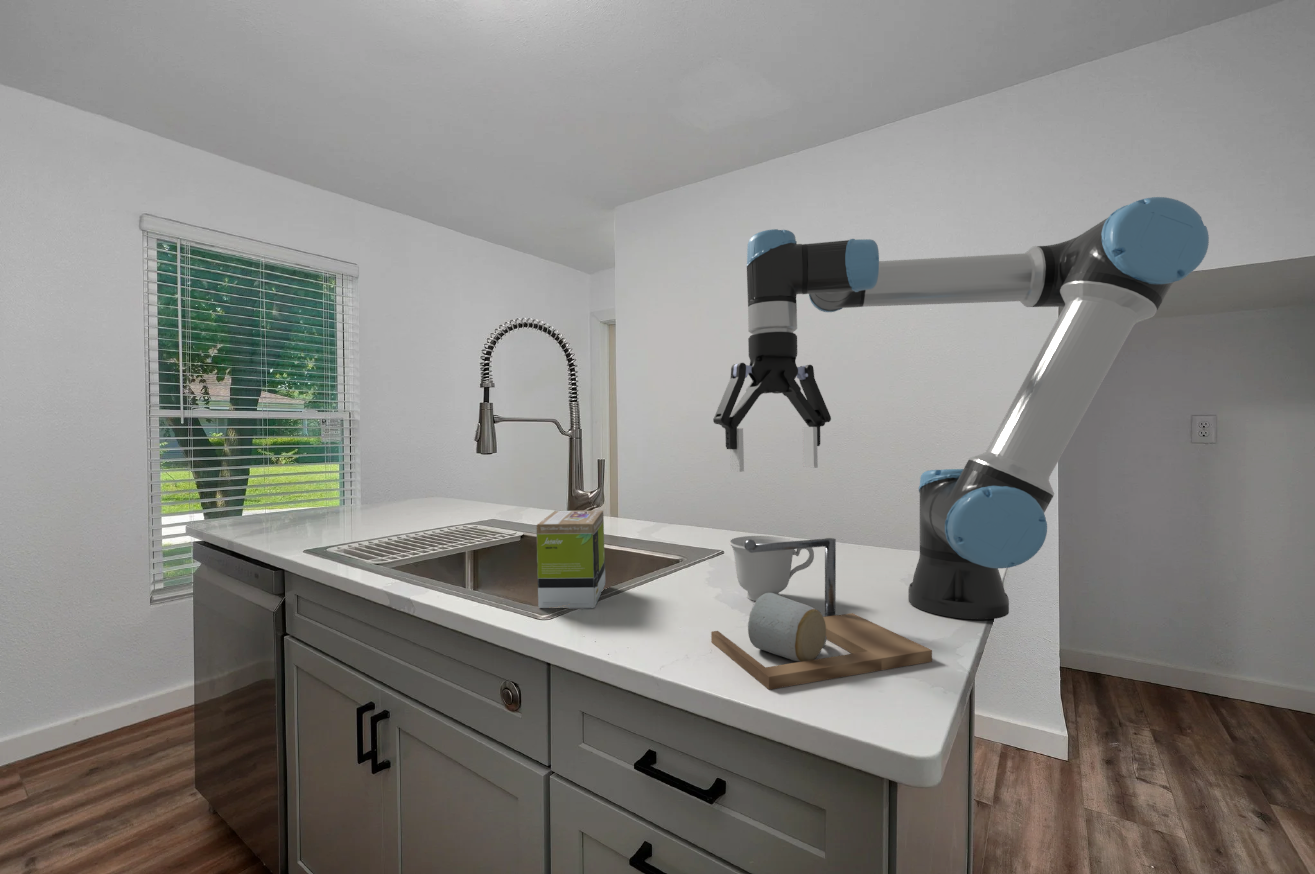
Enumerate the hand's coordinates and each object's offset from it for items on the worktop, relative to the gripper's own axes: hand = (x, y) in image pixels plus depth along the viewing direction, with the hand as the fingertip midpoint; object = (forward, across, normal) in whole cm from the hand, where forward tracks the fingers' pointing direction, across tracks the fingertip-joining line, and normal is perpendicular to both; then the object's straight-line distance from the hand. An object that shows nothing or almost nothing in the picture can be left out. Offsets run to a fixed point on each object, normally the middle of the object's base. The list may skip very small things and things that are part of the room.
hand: (774, 469), depth 92 cm
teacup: (+24, -6, -11) cm, 27 cm away
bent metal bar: (+24, -1, +4) cm, 24 cm away
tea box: (+24, +26, -26) cm, 44 cm away
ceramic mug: (+24, +6, +12) cm, 27 cm away
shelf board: (+24, +2, +13) cm, 27 cm away
